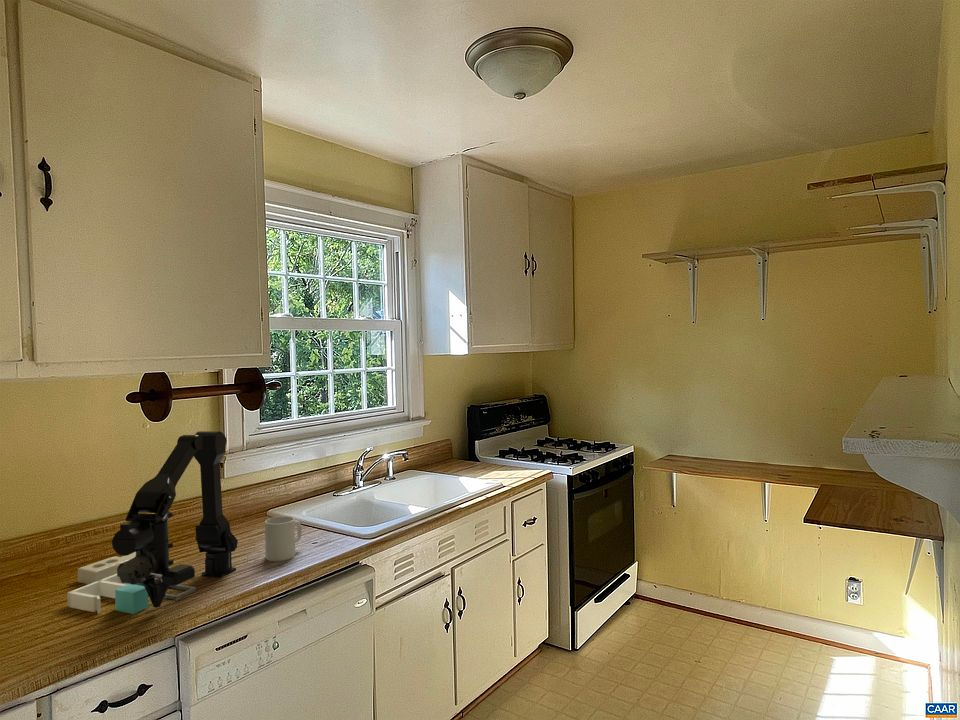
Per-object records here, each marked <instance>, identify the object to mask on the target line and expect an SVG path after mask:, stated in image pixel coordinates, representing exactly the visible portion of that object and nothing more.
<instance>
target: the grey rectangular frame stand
mask: <svg viewBox="0 0 960 720" xmlns="http://www.w3.org/2000/svg"><path fill="white" fill-rule="evenodd" d="M168 589H177V590H184V591H181V592H180V593H178V594H173V593H172V594H170V593H166V594H165V596H164V598H163V599H170V600H175V601H177V600H179V599H181V598H183V597H185V596H188V595H190V594H192V593H194V592H196V591H197V586H196V587H195V586H190V585H183V584H178V585H174V586H172V585H170V586H169V588H168Z"/></svg>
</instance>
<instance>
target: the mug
mask: <svg viewBox="0 0 960 720" xmlns="http://www.w3.org/2000/svg"><path fill="white" fill-rule="evenodd" d="M295 527H296V528H297V534H296V531H295V530H296V528H295ZM302 534H303V531H302V524H301V522H300V521H299V520H297V519H296V520H295V518H294V517H293V516H287V515H285V516H284V515H282V516H281V515H279V516H274V517H270V518H268V519H265V521H264V540H265V542H264V543H265V544H264V545H265V548H264V549H265V550H264V551H265V553H264V555H265V556H264V557H265V559H266V560H267V561H270V562H283V561H288V560H290V559H293V558H294V557H295V556H296V543H299V541H300V540H302V539H301V538H302Z"/></svg>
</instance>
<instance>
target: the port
mask: <svg viewBox="0 0 960 720" xmlns="http://www.w3.org/2000/svg"><path fill="white" fill-rule="evenodd" d="M128 584H129V583H122V582H121V580H120V577H118V576H117V574H115V575H112V576H109V577H107V578H104V579H102V580H99V581H96V582H94V583H91V584H85V585H84V586H81V587H79V588H76V589H73V590H70V591H68V592H67V595H66V596H67V607H68V608H71V609H76V610H82V611H85V612H92V613H96V612H97V614H98V615H99V614H102V608H101V607H102V606H101V597H105V598H106V597H107V598H110V599H111V598H112V599H115V590H116V589H118V588H121V587H123V586H126V585H128ZM134 585H140V586H143V585H141V584H140V583H136V584H134Z"/></svg>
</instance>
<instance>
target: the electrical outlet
mask: <svg viewBox="0 0 960 720" xmlns="http://www.w3.org/2000/svg"><path fill="white" fill-rule="evenodd" d="M135 556H136V552H134V553H132V554H130V555H127V556H122V555H121V556H116V555H115V556H112V557H108V558H104V559H103V560H99V561H96V562H92V563H90V564H87V565H84V566H81V567H79V568H77V582H78V583H80V584H85V585H88V584H91V583H94V582H96V581H99V580H102V579H104V578H107V577H109V576H112V575H115V574H117V568H118V567H119V565H120V564H121V563H123V562H126V561H129V560H130V559H133V558H134V557H135Z"/></svg>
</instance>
